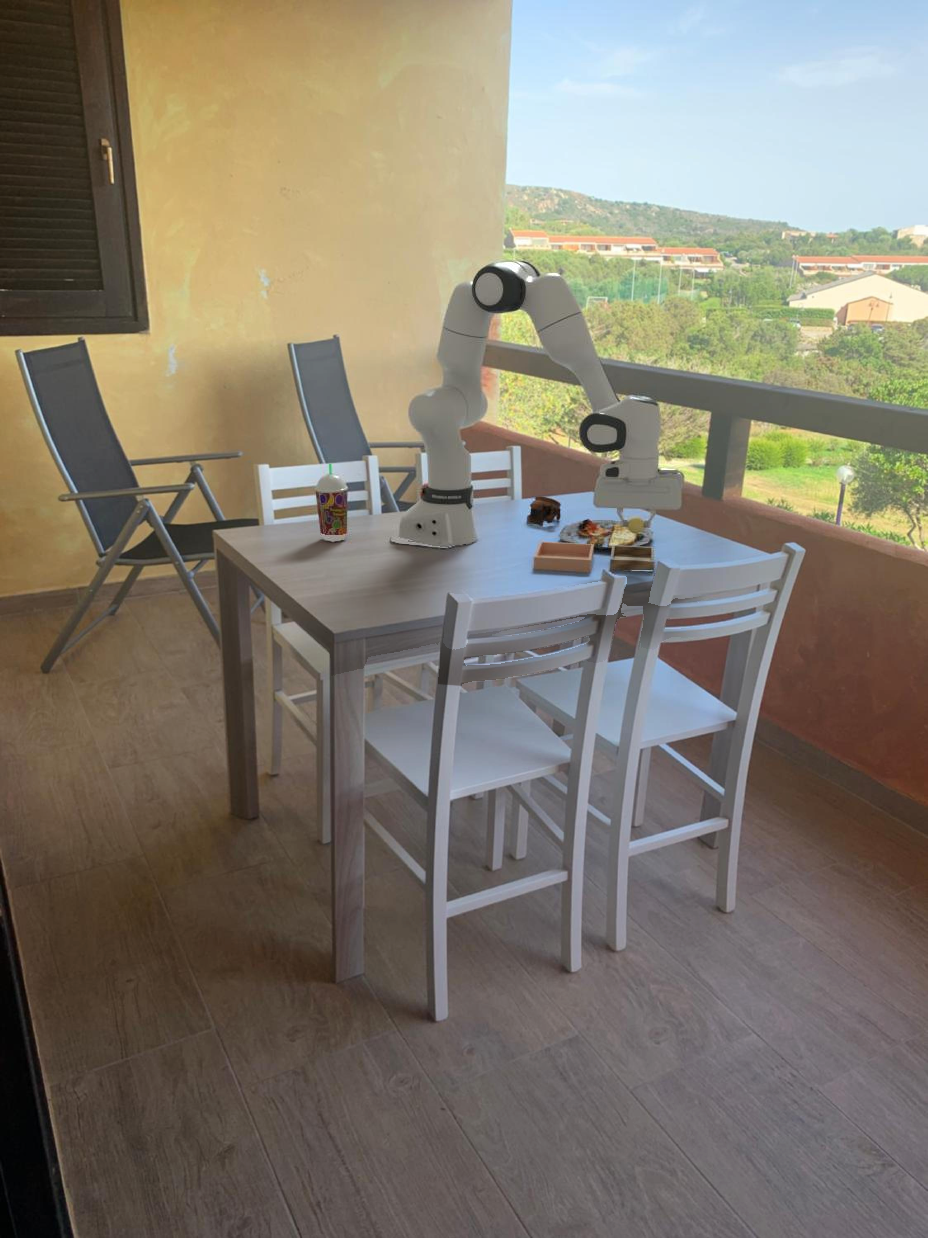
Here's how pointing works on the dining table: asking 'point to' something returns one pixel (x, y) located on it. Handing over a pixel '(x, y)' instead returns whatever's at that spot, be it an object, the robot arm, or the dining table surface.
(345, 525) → the smoothie
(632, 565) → the tray
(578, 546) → the dish
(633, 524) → the ball
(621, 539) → the food plate
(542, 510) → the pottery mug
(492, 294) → the robot arm
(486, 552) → the dining table surface
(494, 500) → the dining table surface
